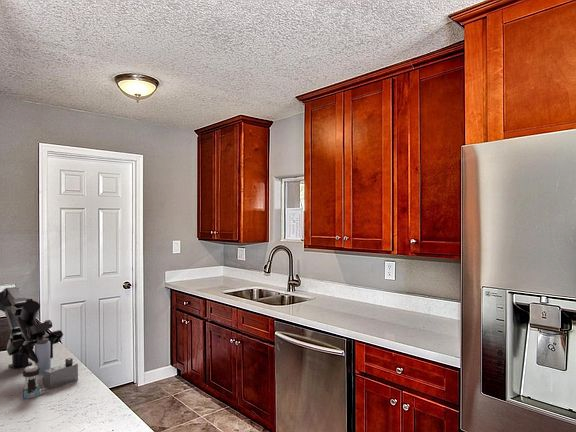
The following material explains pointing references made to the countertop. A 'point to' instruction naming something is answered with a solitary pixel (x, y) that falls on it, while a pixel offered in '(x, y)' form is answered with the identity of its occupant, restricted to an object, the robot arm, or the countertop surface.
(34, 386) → the push button
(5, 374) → the countertop surface
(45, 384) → the motor block
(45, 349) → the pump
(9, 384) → the countertop surface
